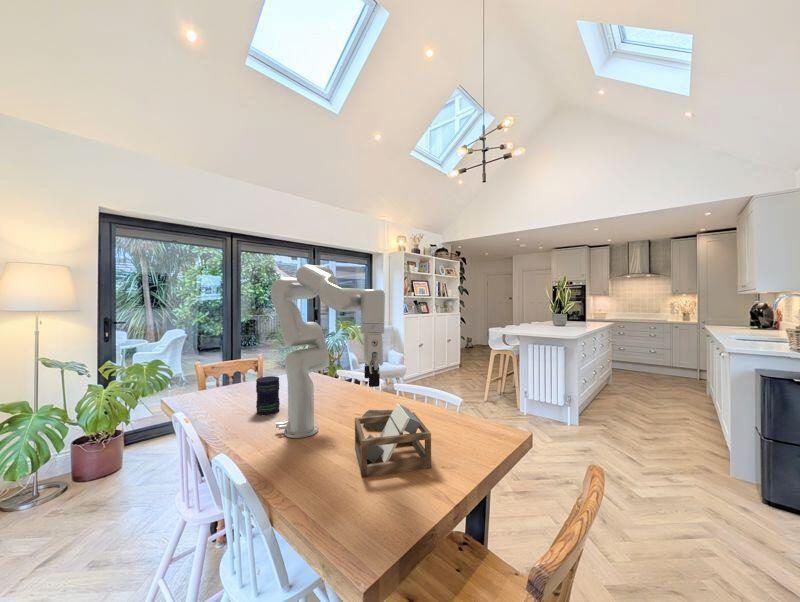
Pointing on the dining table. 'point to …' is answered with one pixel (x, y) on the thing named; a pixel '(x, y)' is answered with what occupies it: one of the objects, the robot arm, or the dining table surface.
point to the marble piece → (376, 425)
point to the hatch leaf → (398, 427)
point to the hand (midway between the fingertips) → (371, 382)
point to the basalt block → (373, 451)
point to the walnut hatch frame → (413, 439)
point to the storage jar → (267, 395)
